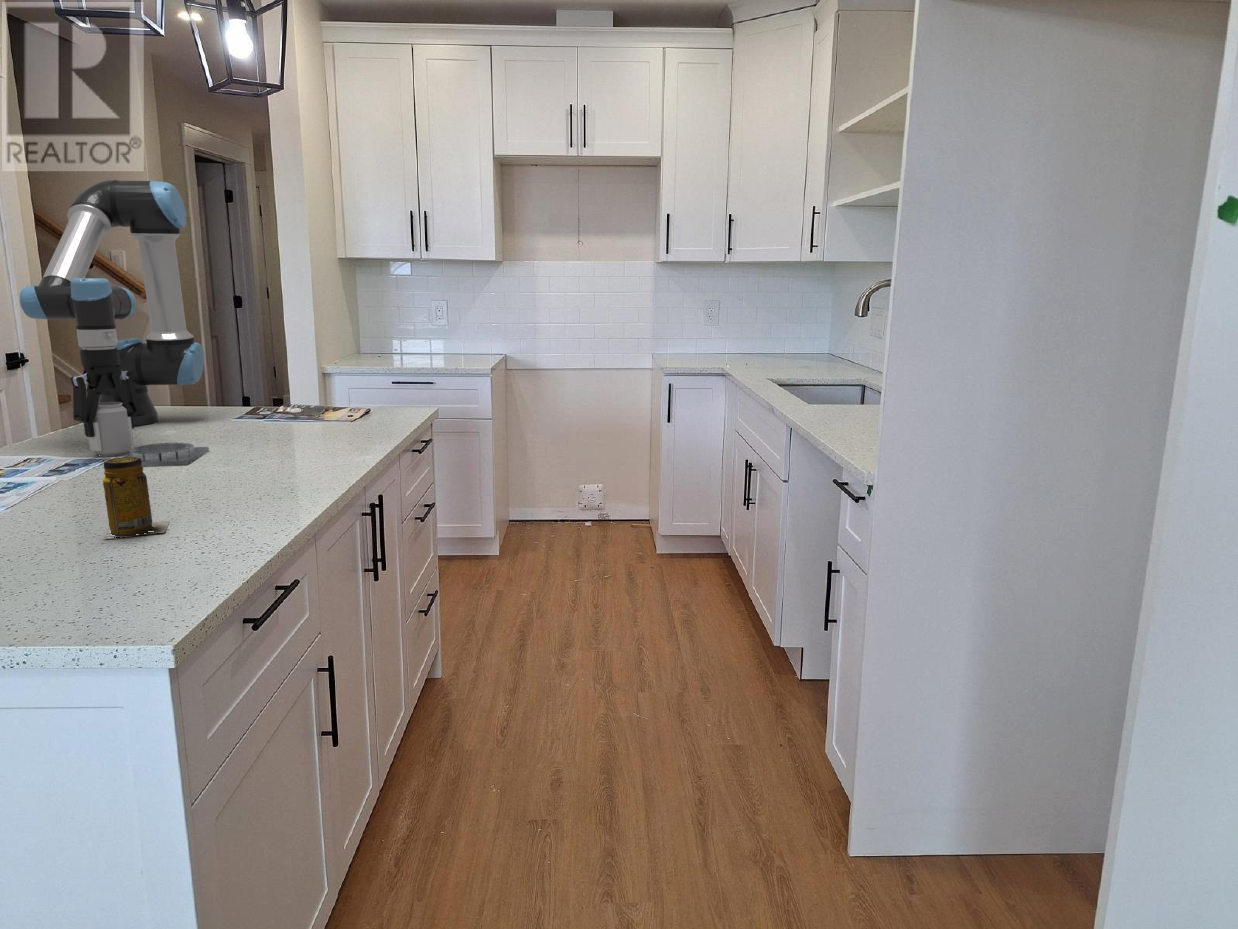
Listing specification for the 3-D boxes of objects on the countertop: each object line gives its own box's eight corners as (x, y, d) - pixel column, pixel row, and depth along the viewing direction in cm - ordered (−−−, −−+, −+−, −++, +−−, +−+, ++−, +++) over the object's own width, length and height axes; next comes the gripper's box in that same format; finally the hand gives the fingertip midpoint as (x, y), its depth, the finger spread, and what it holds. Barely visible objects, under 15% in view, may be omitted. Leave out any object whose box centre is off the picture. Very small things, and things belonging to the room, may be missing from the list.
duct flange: (140, 452, 188) (138, 442, 187) (208, 450, 190) (207, 440, 190) (113, 467, 173) (111, 456, 173) (187, 465, 176) (186, 454, 175)
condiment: (111, 527, 132) (101, 456, 130) (169, 522, 136) (161, 452, 133) (104, 540, 126) (93, 466, 123) (165, 534, 129) (156, 462, 127)
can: (139, 451, 189) (133, 400, 187) (117, 458, 182) (110, 405, 179) (109, 450, 190) (103, 400, 187) (86, 456, 183) (79, 404, 180)
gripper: (67, 352, 170) (82, 457, 175) (150, 345, 189) (162, 440, 194) (42, 350, 172) (58, 454, 178) (127, 344, 191) (139, 437, 196)
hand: (112, 446), depth 186 cm, fingers closed on can, 7 cm apart
